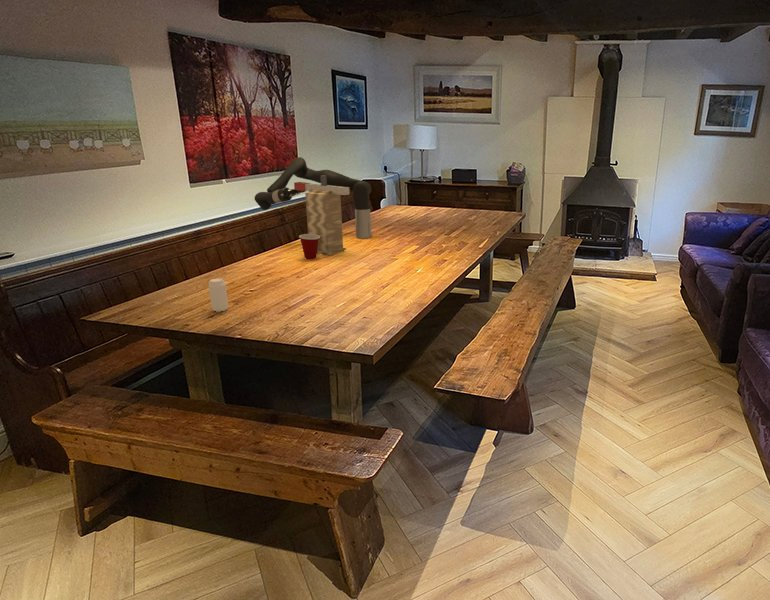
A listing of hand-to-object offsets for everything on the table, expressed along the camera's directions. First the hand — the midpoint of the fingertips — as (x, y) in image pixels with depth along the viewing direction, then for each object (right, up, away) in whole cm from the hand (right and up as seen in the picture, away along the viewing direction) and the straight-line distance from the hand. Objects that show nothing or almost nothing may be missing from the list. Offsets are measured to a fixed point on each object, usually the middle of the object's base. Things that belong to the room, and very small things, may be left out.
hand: (302, 189), depth 296 cm
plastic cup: (+7, -40, -17) cm, 44 cm away
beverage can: (-17, -65, -92) cm, 114 cm away
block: (+12, -4, -13) cm, 18 cm away
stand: (+14, -35, -4) cm, 37 cm away
